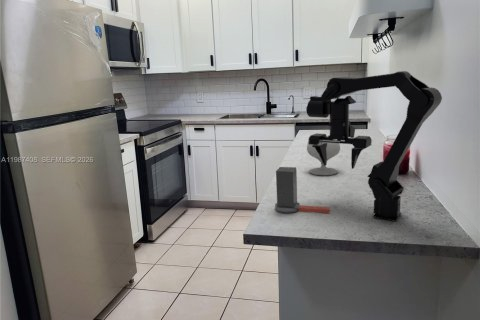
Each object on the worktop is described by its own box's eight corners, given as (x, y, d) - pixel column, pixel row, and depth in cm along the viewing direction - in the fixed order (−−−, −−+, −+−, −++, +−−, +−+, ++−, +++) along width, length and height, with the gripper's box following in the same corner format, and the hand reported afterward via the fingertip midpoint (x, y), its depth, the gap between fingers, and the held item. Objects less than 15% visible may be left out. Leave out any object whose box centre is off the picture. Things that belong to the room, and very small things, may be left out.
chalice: (305, 176, 155) (305, 141, 151) (308, 168, 168) (308, 135, 165) (340, 177, 151) (340, 141, 148) (340, 168, 164) (340, 135, 161)
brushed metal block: (297, 202, 120) (296, 167, 118) (293, 208, 116) (292, 171, 113) (281, 201, 122) (280, 166, 120) (277, 207, 117) (275, 171, 115)
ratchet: (331, 207, 118) (331, 195, 117) (328, 216, 111) (328, 204, 110) (278, 204, 124) (278, 192, 123) (272, 212, 117) (271, 200, 116)
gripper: (377, 115, 114) (376, 164, 118) (322, 114, 125) (322, 158, 129) (366, 120, 106) (364, 172, 109) (307, 118, 117) (308, 166, 120)
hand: (338, 166), depth 117 cm, fingers open, 9 cm apart
